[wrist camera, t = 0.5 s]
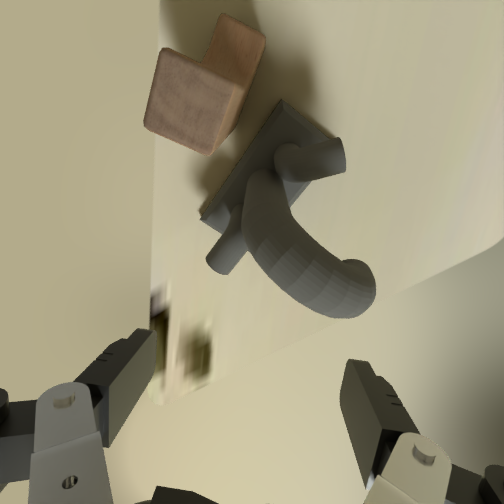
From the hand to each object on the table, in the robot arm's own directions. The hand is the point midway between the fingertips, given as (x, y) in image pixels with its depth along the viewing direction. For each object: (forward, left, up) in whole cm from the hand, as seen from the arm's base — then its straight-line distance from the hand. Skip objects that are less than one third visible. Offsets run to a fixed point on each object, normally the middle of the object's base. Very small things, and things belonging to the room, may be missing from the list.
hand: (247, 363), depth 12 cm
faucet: (+4, +2, -28) cm, 29 cm away
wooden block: (-11, +4, -28) cm, 31 cm away
